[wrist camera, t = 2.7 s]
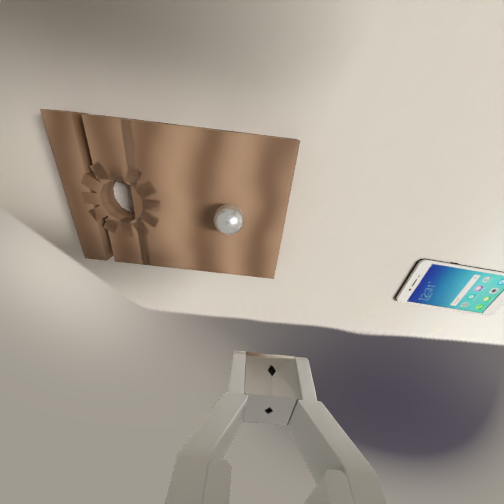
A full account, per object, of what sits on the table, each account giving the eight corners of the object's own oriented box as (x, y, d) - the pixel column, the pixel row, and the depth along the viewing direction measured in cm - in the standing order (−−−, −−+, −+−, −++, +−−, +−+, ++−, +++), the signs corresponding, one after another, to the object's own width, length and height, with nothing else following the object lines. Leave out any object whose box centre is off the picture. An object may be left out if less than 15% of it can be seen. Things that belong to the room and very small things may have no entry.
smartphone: (491, 317, 34) (394, 302, 33) (486, 313, 34) (391, 298, 34) (529, 277, 30) (422, 258, 29) (523, 273, 31) (418, 255, 30)
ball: (246, 201, 24) (244, 212, 21) (244, 229, 26) (241, 242, 23) (216, 198, 24) (211, 208, 21) (216, 226, 26) (210, 238, 23)
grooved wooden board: (296, 139, 23) (300, 140, 21) (272, 268, 31) (273, 278, 29) (61, 110, 23) (39, 108, 21) (97, 248, 31) (85, 258, 29)
